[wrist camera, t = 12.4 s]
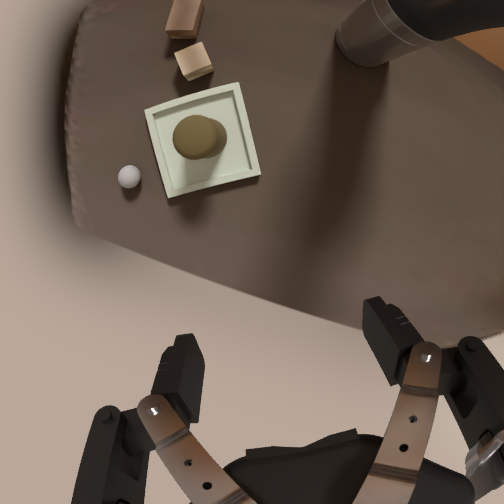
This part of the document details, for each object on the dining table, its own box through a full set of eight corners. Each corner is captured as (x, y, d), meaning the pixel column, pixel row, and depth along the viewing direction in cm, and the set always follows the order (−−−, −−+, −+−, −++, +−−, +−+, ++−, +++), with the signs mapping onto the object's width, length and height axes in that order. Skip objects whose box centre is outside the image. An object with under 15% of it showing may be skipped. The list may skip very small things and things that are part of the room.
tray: (238, 84, 34) (238, 82, 32) (260, 173, 39) (260, 174, 38) (147, 111, 35) (144, 110, 33) (170, 196, 40) (168, 198, 39)
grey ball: (140, 161, 38) (131, 163, 34) (146, 182, 39) (138, 186, 36) (121, 168, 38) (111, 171, 35) (127, 188, 39) (118, 193, 36)
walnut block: (204, 9, 28) (201, -2, 25) (196, 39, 30) (192, 30, 27) (180, 9, 28) (174, -1, 24) (171, 39, 30) (165, 30, 26)
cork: (233, 148, 37) (230, 150, 27) (195, 165, 38) (178, 174, 28) (217, 111, 35) (208, 100, 25) (179, 128, 36) (156, 125, 25)
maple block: (205, 50, 31) (201, 41, 28) (214, 71, 33) (211, 64, 29) (180, 60, 32) (174, 53, 28) (188, 81, 33) (183, 75, 30)
